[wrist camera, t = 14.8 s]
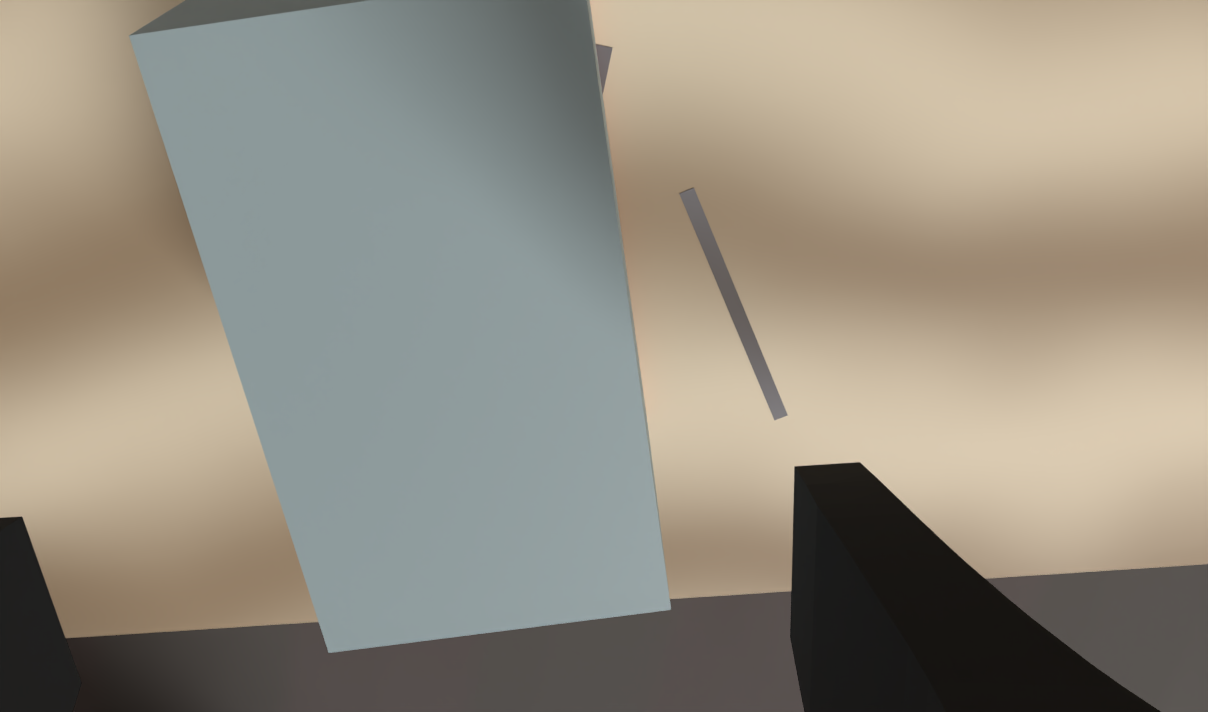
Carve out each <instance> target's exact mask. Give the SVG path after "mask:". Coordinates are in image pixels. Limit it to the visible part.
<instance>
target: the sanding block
mask: <svg viewBox="0 0 1208 712" xmlns="http://www.w3.org/2000/svg"><path fill="white" fill-rule="evenodd" d="M129 37H130V40H131V44H132V47H133V50H134V53H135V56H136V59H137V62H138V65H139V68H140V71H141V74H142V77H143V81H144V84H145V87H146V90H147V93H148V96H149V99H150V102H151V105H152V108H153V111H154V115H155V118H156V121H157V124H158V127H159V130H160V133H161V136H162V139H163V142H164V145H165V149H166V152H167V155H168V158H169V161H170V164H171V167H172V170H173V173H174V176H175V179H176V183H177V186H178V189H179V192H180V195H181V198H182V201H183V204H184V207H185V210H186V213H187V217H188V220H189V223H190V226H191V229H192V232H193V235H194V238H195V241H196V244H197V247H198V251H199V254H200V257H201V260H202V263H203V266H204V269H205V272H206V275H207V278H208V281H209V284H210V288H211V291H212V294H213V297H214V300H215V303H216V306H217V309H218V312H219V315H220V318H221V322H222V325H223V328H224V331H225V334H226V337H227V340H228V343H229V346H230V349H231V352H232V356H233V359H234V362H235V365H236V368H237V371H238V374H239V377H240V380H241V383H242V386H243V390H244V393H245V396H246V399H247V402H248V405H249V408H250V411H251V414H252V417H253V420H254V424H255V427H256V430H257V433H258V436H259V439H260V442H261V445H262V448H263V451H264V454H265V458H266V461H267V464H268V467H269V470H270V473H271V476H272V479H273V482H274V485H275V488H276V491H277V495H278V498H279V501H280V504H281V507H282V510H283V513H284V516H285V519H286V522H287V525H288V529H289V532H290V535H291V538H292V541H293V544H294V547H295V550H296V553H297V556H298V559H299V563H300V566H301V569H302V572H303V575H304V578H305V581H306V584H307V587H308V590H309V593H310V597H311V600H312V603H313V606H314V609H315V612H316V615H317V618H318V621H319V624H320V627H321V631H322V634H323V637H324V640H325V643H326V646H327V649H328V652H329V653H332V652H340V651H348V650H356V649H363V648H371V647H379V646H387V645H395V644H403V643H411V642H419V641H427V640H435V639H443V638H451V637H458V636H466V635H474V634H482V633H490V632H498V631H506V630H514V629H522V628H530V627H538V626H546V625H553V624H561V623H569V622H577V621H585V620H593V619H601V618H609V617H617V616H625V615H633V614H641V613H649V612H656V611H664V610H671V605H670V597H669V590H668V582H667V574H666V566H665V558H664V550H663V542H662V534H661V526H660V518H659V510H658V502H657V494H656V486H655V478H654V470H653V462H652V454H651V446H650V439H649V431H648V423H647V415H646V407H645V400H644V393H643V385H642V378H641V371H640V364H639V356H638V349H637V342H636V334H635V327H634V320H633V312H632V305H631V298H630V291H629V283H628V276H627V269H626V261H625V254H624V247H623V239H622V232H621V225H620V218H619V210H618V203H617V196H616V188H615V181H614V174H613V167H612V159H611V152H610V145H609V137H608V130H607V123H606V115H605V108H604V101H603V94H602V86H601V79H600V72H599V64H598V57H597V50H596V42H595V35H594V28H593V21H592V13H591V6H590V0H185V1H184V2H182V3H180V4H179V5H177V6H176V7H174V8H172V9H171V10H169V11H168V12H166V13H164V14H163V15H161V16H160V17H158V18H156V19H155V20H153V21H151V22H150V23H148V24H147V25H145V26H143V27H142V28H140V29H139V30H137V31H135V32H134V33H132V34H131V35H129Z"/></svg>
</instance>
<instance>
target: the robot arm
mask: <svg viewBox="0 0 1208 712" xmlns="http://www.w3.org/2000/svg"><path fill="white" fill-rule="evenodd" d="M790 638H791V643H792V649H793V654H794V659H795V665H796V670H797V676H798V681H799V686H800V692H801V697H802V702H803V707H804V711H805V712H1160V711H1159V710H1157V709H1156V708H1154V707H1153V706H1151V705H1150V704H1148V703H1147V702H1145V701H1144V700H1142V699H1141V698H1139V697H1138V696H1136V695H1135V694H1133V693H1132V692H1130V691H1129V690H1127V689H1126V688H1124V687H1123V686H1121V685H1120V684H1118V683H1117V682H1116V681H1114V680H1113V679H1111V678H1110V677H1109V676H1107V675H1106V674H1104V673H1103V672H1102V671H1100V670H1099V669H1097V668H1096V667H1095V666H1093V665H1092V664H1090V663H1089V662H1088V661H1086V660H1085V659H1084V658H1082V657H1081V656H1080V655H1079V654H1077V653H1076V652H1075V651H1073V650H1072V649H1071V648H1070V647H1068V646H1067V645H1066V644H1064V643H1063V642H1062V641H1060V640H1059V639H1058V638H1057V637H1055V636H1054V635H1053V634H1051V633H1050V632H1049V631H1048V630H1046V629H1045V628H1044V627H1042V626H1041V625H1040V624H1038V623H1037V622H1036V621H1035V620H1033V619H1032V618H1031V617H1029V616H1028V615H1027V614H1026V613H1025V612H1023V611H1022V610H1021V609H1020V608H1019V607H1017V606H1016V605H1015V604H1014V603H1013V602H1011V601H1010V600H1009V599H1008V598H1007V597H1005V596H1004V595H1003V594H1002V593H1001V592H1000V591H999V590H997V589H996V588H995V587H994V586H993V585H992V584H991V583H989V582H988V581H987V580H986V579H985V578H984V577H983V576H981V575H980V574H979V573H978V572H977V571H976V570H975V569H973V568H972V567H971V566H970V565H969V564H968V563H966V562H965V561H964V560H963V559H962V558H961V557H960V556H959V555H958V554H957V553H956V552H954V551H953V550H952V549H951V548H950V547H949V546H948V545H947V544H946V543H945V542H944V541H943V540H941V539H940V538H939V537H938V536H937V535H936V534H935V533H934V532H933V531H932V530H931V529H930V528H929V527H928V526H927V525H926V524H924V523H923V522H922V521H921V520H920V519H919V518H918V517H917V516H916V515H915V514H914V513H913V512H912V511H911V510H910V509H909V508H908V507H907V506H906V505H905V504H904V503H903V502H902V501H900V500H899V499H898V498H897V497H896V496H895V495H894V494H893V493H892V492H891V491H890V490H889V489H888V488H887V487H886V486H885V485H884V484H883V483H882V482H881V481H880V480H879V479H878V478H877V477H875V476H874V475H873V474H872V473H871V472H870V471H869V470H868V469H867V468H866V467H865V466H864V465H863V464H861V463H860V462H854V463H838V464H823V465H807V466H794V505H793V547H792V588H791V629H790ZM80 686H81V680H80V678H79V675H78V672H77V669H76V666H75V663H74V661H73V658H72V655H71V652H70V649H69V647H68V644H67V641H66V638H65V635H64V633H63V630H62V627H61V624H60V621H59V618H58V616H57V613H56V610H55V607H54V604H53V602H52V599H51V596H50V593H49V590H48V587H47V585H46V582H45V579H44V576H43V573H42V571H41V568H40V565H39V562H38V559H37V557H36V554H35V551H34V548H33V545H32V542H31V540H30V537H29V534H28V531H27V528H26V526H25V523H24V520H23V517H22V516H21V517H5V518H0V712H73V709H74V705H75V702H76V699H77V696H78V693H79V689H80Z"/></svg>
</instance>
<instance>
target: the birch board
mask: <svg viewBox="0 0 1208 712" xmlns="http://www.w3.org/2000/svg"><path fill="white" fill-rule="evenodd" d="M184 1H185V0H0V518H5V517H21V516H22V517H23V520H24V523H25V526H26V528H27V531H28V534H29V537H30V540H31V542H32V545H33V548H34V551H35V554H36V557H37V559H38V562H39V565H40V568H41V571H42V573H43V576H44V579H45V582H46V585H47V587H48V590H49V593H50V596H51V599H52V602H53V604H54V607H55V610H56V613H57V616H58V618H59V621H60V624H61V627H62V630H63V633H64V635H65V638H77V637H92V636H107V635H123V634H138V633H154V632H169V631H184V630H200V629H215V628H231V627H246V626H261V625H277V624H292V623H308V622H319V621H318V618H317V615H316V612H315V609H314V606H313V603H312V600H311V597H310V593H309V590H308V587H307V584H306V581H305V578H304V575H303V572H302V569H301V566H300V563H299V559H298V556H297V553H296V550H295V547H294V544H293V541H292V538H291V535H290V532H289V529H288V525H287V522H286V519H285V516H284V513H283V510H282V507H281V504H280V501H279V498H278V495H277V491H276V488H275V485H274V482H273V479H272V476H271V473H270V470H269V467H268V464H267V461H266V458H265V454H264V451H263V448H262V445H261V442H260V439H259V436H258V433H257V430H256V427H255V424H254V420H253V417H252V414H251V411H250V408H249V405H248V402H247V399H246V396H245V393H244V390H243V386H242V383H241V380H240V377H239V374H238V371H237V368H236V365H235V362H234V359H233V356H232V352H231V349H230V346H229V343H228V340H227V337H226V334H225V331H224V328H223V325H222V322H221V318H220V315H219V312H218V309H217V306H216V303H215V300H214V297H213V294H212V291H211V288H210V284H209V281H208V278H207V275H206V272H205V269H204V266H203V263H202V260H201V257H200V254H199V251H198V247H197V244H196V241H195V238H194V235H193V232H192V229H191V226H190V223H189V220H188V217H187V213H186V210H185V207H184V204H183V201H182V198H181V195H180V192H179V189H178V186H177V183H176V179H175V176H174V173H173V170H172V167H171V164H170V161H169V158H168V155H167V152H166V149H165V145H164V142H163V139H162V136H161V133H160V130H159V127H158V124H157V121H156V118H155V115H154V111H153V108H152V105H151V102H150V99H149V96H148V93H147V90H146V87H145V84H144V81H143V77H142V74H141V71H140V68H139V65H138V62H137V59H136V56H135V53H134V50H133V47H132V44H131V40H130V37H129V35H131V34H132V33H134V32H135V31H137V30H139V29H140V28H142V27H143V26H145V25H147V24H148V23H150V22H151V21H153V20H155V19H156V18H158V17H160V16H161V15H163V14H164V13H166V12H168V11H169V10H171V9H172V8H174V7H176V6H177V5H179V4H180V3H182V2H184ZM590 6H591V13H592V21H593V28H594V35H595V42H596V50H597V57H598V64H599V72H600V79H601V86H602V94H603V101H604V108H605V115H606V123H607V130H608V137H609V145H610V152H611V159H612V167H613V174H614V181H615V188H616V196H617V203H618V210H619V218H620V225H621V232H622V239H623V247H624V254H625V261H626V269H627V276H628V283H629V291H630V298H631V305H632V312H633V320H634V327H635V334H636V342H637V349H638V356H639V364H640V371H641V378H642V385H643V393H644V400H645V407H646V415H647V423H648V431H649V439H650V446H651V454H652V462H653V470H654V478H655V486H656V494H657V502H658V510H659V518H660V526H661V534H662V542H663V550H664V558H665V566H666V574H667V582H668V590H669V597H670V599H677V598H692V597H708V596H723V595H739V594H754V593H769V592H785V591H791V588H792V547H793V505H794V466H807V465H823V464H838V463H854V462H860V463H861V464H863V465H864V466H865V467H866V468H867V469H868V470H869V471H870V472H871V473H872V474H873V475H874V476H875V477H877V478H878V479H879V480H880V481H881V482H882V483H883V484H884V485H885V486H886V487H887V488H888V489H889V490H890V491H891V492H892V493H893V494H894V495H895V496H896V497H897V498H898V499H899V500H900V501H902V502H903V503H904V504H905V505H906V506H907V507H908V508H909V509H910V510H911V511H912V512H913V513H914V514H915V515H916V516H917V517H918V518H919V519H920V520H921V521H922V522H923V523H924V524H926V525H927V526H928V527H929V528H930V529H931V530H932V531H933V532H934V533H935V534H936V535H937V536H938V537H939V538H940V539H941V540H943V541H944V542H945V543H946V544H947V545H948V546H949V547H950V548H951V549H952V550H953V551H954V552H956V553H957V554H958V555H959V556H960V557H961V558H962V559H963V560H964V561H965V562H966V563H968V564H969V565H970V566H971V567H972V568H973V569H975V570H976V571H977V572H978V573H979V574H980V575H981V576H983V577H984V578H1000V577H1016V576H1031V575H1046V574H1062V573H1077V572H1093V571H1108V570H1123V569H1139V568H1154V567H1170V566H1185V565H1200V564H1208V0H590Z"/></svg>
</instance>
